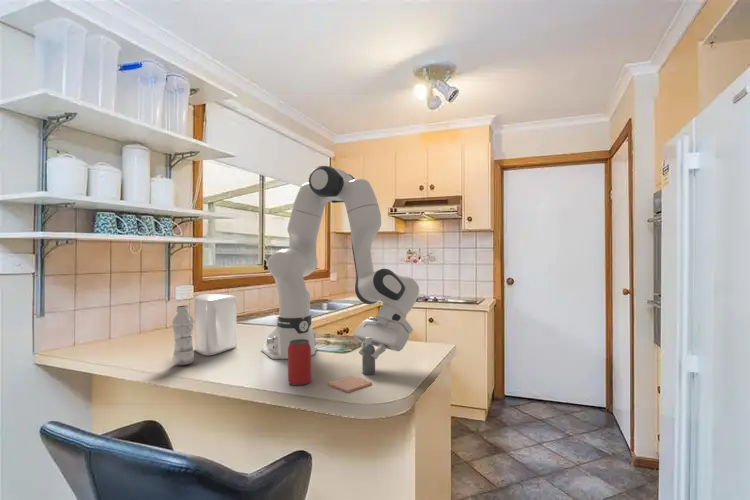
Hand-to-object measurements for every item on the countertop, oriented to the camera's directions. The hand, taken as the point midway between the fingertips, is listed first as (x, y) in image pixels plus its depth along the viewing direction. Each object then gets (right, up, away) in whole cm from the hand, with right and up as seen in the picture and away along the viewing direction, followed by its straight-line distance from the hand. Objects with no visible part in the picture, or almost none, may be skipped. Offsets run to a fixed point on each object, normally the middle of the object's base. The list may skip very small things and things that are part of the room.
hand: (367, 356), depth 125 cm
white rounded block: (-61, -6, +32) cm, 69 cm away
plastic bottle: (-63, -6, +13) cm, 64 cm away
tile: (-5, -6, -10) cm, 12 cm away
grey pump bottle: (+1, -5, 0) cm, 5 cm away
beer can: (-20, -6, -7) cm, 22 cm away
